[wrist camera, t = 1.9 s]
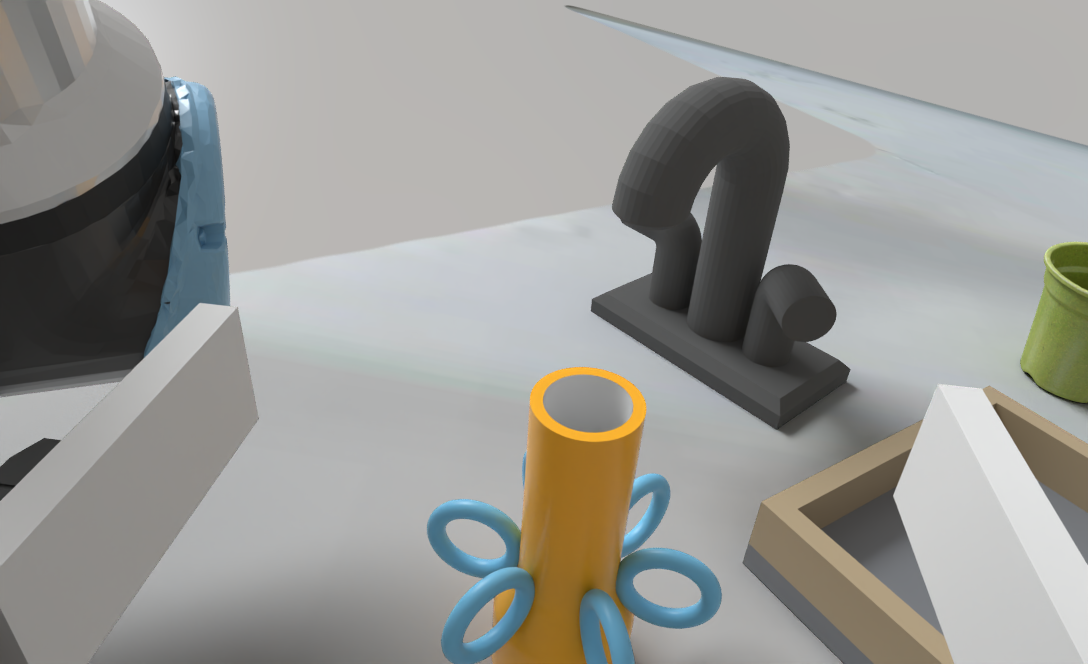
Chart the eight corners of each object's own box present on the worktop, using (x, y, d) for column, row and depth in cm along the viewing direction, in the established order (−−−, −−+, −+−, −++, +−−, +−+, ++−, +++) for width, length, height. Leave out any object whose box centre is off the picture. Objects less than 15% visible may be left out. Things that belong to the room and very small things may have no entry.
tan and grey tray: (742, 562, 40) (761, 501, 38) (962, 441, 49) (989, 385, 47) (1138, 955, 27) (1207, 901, 24) (1337, 689, 36) (1403, 630, 34)
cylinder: (703, 599, 38) (772, 353, 30) (678, 819, 30) (764, 562, 21) (469, 539, 40) (471, 294, 32) (383, 727, 32) (356, 461, 24)
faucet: (510, 340, 56) (523, 55, 44) (657, 276, 65) (698, 26, 53) (706, 485, 45) (788, 155, 34) (850, 384, 54) (953, 98, 42)
